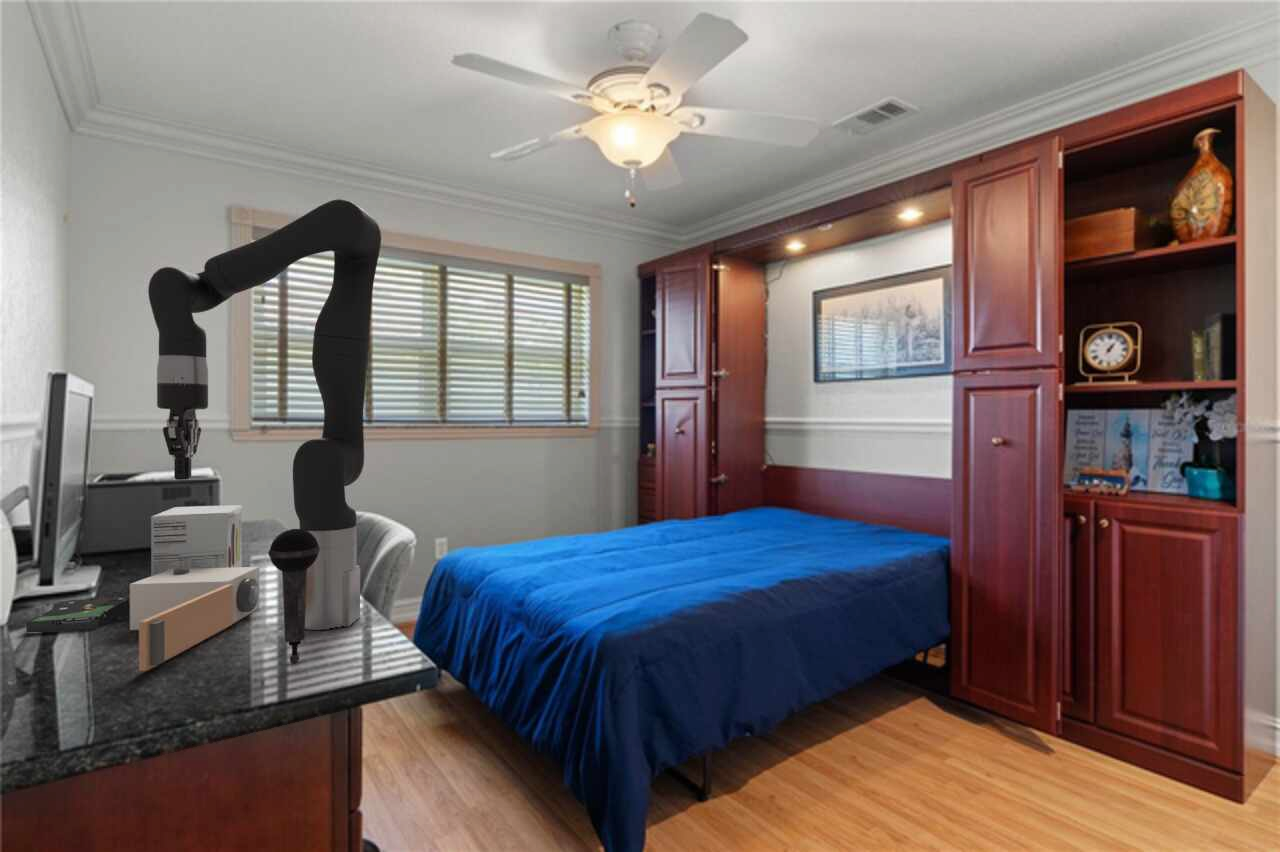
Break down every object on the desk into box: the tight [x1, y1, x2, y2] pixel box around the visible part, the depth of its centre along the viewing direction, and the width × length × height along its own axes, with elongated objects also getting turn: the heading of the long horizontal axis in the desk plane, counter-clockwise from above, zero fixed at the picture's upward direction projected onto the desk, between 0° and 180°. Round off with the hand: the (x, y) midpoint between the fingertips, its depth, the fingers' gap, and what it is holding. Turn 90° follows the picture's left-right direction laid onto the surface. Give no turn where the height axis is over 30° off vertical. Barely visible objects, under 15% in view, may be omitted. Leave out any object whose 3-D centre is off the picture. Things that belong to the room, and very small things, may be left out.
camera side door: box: [138, 585, 234, 672], centre depth 104 cm, size 22×2×7 cm, turn 4°
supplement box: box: [150, 504, 243, 577], centre depth 137 cm, size 17×13×18 cm
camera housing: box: [129, 566, 260, 631], centre depth 120 cm, size 18×12×9 cm
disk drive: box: [25, 596, 130, 633], centre depth 120 cm, size 10×3×15 cm
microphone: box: [268, 528, 320, 664], centre depth 98 cm, size 7×7×20 cm
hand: (183, 479), depth 117 cm, fingers closed
